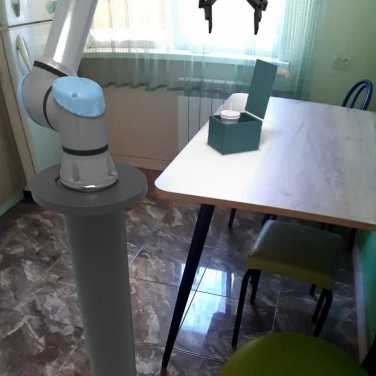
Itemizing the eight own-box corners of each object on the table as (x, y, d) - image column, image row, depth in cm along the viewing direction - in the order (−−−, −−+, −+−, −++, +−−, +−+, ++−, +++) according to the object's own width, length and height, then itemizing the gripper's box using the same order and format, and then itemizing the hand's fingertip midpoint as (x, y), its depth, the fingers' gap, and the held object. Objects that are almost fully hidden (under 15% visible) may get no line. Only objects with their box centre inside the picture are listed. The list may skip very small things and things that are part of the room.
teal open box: (222, 154, 131) (225, 125, 125) (207, 144, 138) (209, 115, 132) (258, 149, 136) (262, 120, 130) (241, 139, 143) (245, 111, 137)
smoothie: (237, 142, 138) (242, 95, 128) (236, 149, 133) (241, 100, 124) (218, 141, 138) (222, 94, 129) (216, 147, 134) (220, 99, 124)
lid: (276, 65, 120) (297, 69, 124) (256, 58, 127) (277, 62, 131) (261, 119, 129) (282, 121, 133) (244, 110, 136) (263, 112, 140)
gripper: (270, -27, 125) (272, 41, 124) (188, -30, 123) (190, 39, 123) (277, -51, 117) (279, 22, 117) (190, -55, 116) (192, 18, 115)
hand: (233, 30), depth 120 cm, fingers open, 13 cm apart
